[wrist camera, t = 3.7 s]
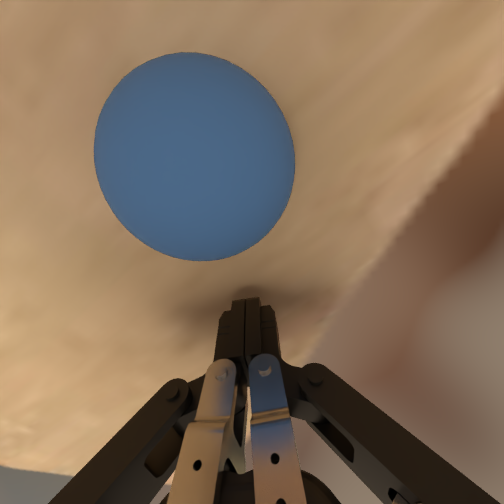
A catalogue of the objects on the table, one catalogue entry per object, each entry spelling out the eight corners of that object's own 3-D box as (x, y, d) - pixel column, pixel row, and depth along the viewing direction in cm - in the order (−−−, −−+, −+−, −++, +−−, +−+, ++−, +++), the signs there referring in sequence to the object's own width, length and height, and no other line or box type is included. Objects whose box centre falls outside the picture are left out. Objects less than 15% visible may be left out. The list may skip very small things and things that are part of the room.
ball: (116, 86, 9) (-41, 68, 4) (273, 49, 9) (303, -21, 4) (171, 227, 13) (116, 314, 7) (290, 206, 12) (320, 284, 7)
